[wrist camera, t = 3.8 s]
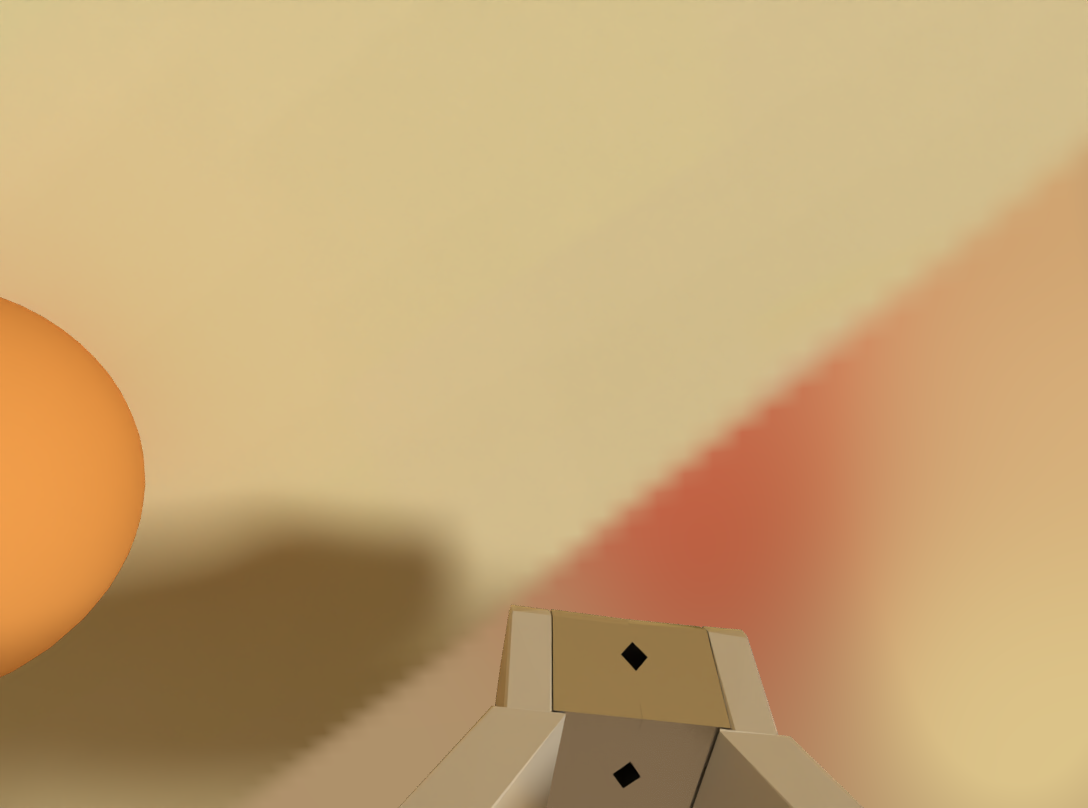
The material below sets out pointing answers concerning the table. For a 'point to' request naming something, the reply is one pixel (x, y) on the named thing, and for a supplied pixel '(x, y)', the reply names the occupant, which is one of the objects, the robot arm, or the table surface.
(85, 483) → the ball
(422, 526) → the table surface
